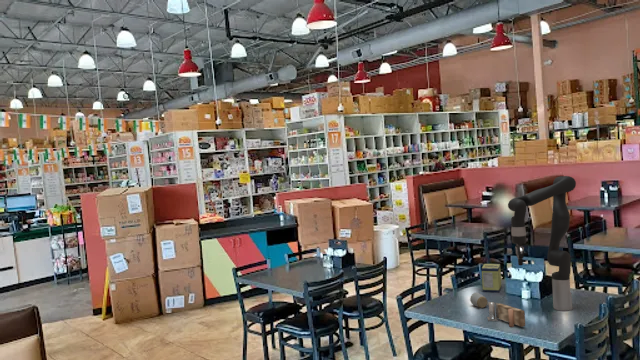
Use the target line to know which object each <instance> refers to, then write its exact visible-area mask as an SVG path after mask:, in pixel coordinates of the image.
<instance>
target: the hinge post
mask: <svg viewBox="0 0 640 360" xmlns="http://www.w3.org/2000/svg"><path fill="white" fill-rule="evenodd" d="M488 302H489V306H488V315H489V316H487V317H486V318H487V321H488V322H498V321H499V318H496V305H495V302H494V301H488Z"/></svg>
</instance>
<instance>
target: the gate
mask: <svg viewBox="0 0 640 360" xmlns="http://www.w3.org/2000/svg"><path fill="white" fill-rule="evenodd" d="M494 304H495V317H496V318H497V319H498V320H501V321H504V322H507V323H509V315H508V309H513V317H514V326H515V325H516V326H517V327H518V326H519V327H522V328H523V327H526V315H525V310H524V309H521V308H518V307H517V308H516V307H514V306H510V305H507V304H505V303H499V302H494Z"/></svg>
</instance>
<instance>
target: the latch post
mask: <svg viewBox="0 0 640 360" xmlns="http://www.w3.org/2000/svg"><path fill="white" fill-rule="evenodd" d="M508 315H509V322H508V327H510V328H513V327H515V324H514V317H513V309H508Z"/></svg>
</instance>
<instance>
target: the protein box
mask: <svg viewBox="0 0 640 360" xmlns="http://www.w3.org/2000/svg"><path fill="white" fill-rule="evenodd" d="M482 265H483V266H482V267H481V282H482V283H481V284H482V292H483V293H500V291H501V289H502V287H503V286H502V272H501V264H500V263H483V264H482Z"/></svg>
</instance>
